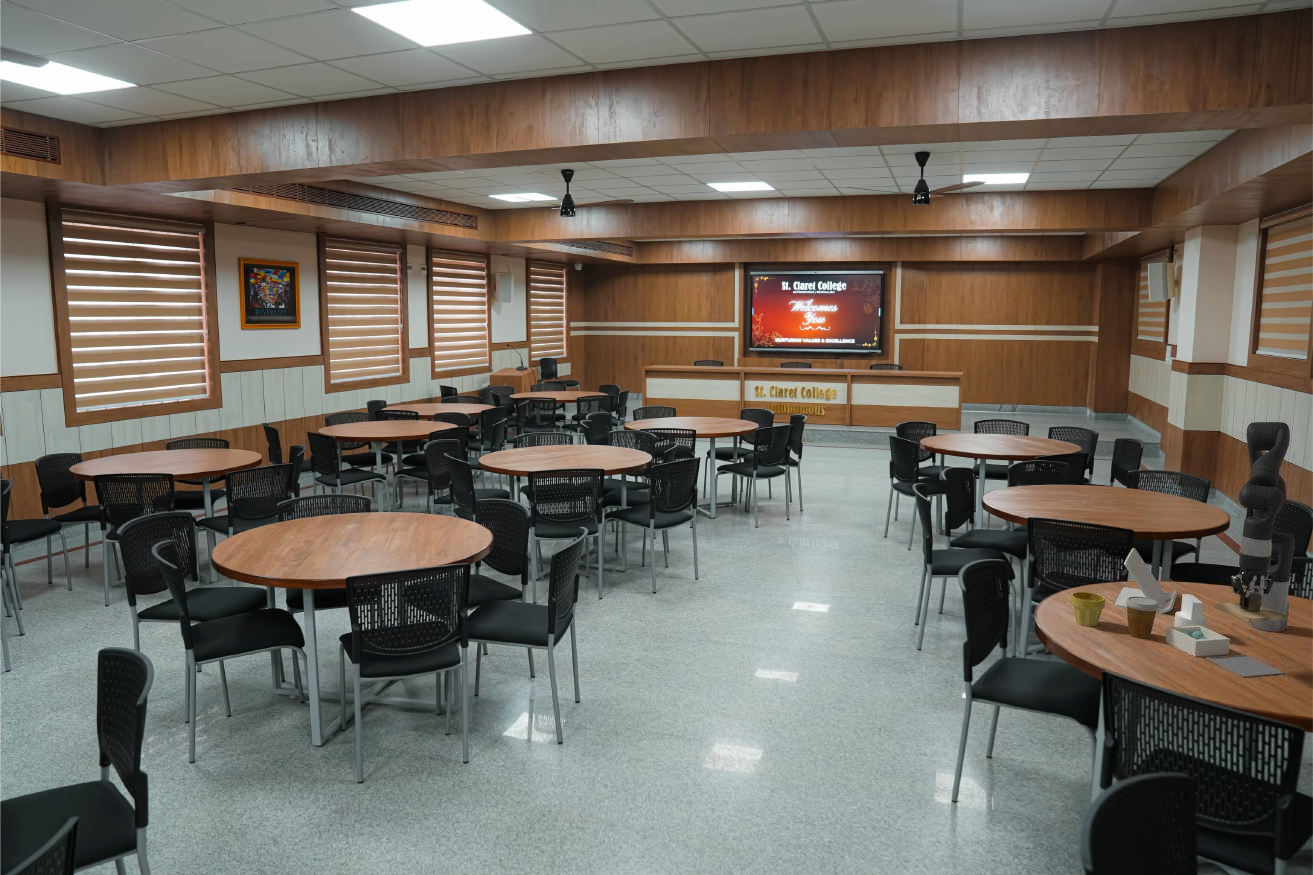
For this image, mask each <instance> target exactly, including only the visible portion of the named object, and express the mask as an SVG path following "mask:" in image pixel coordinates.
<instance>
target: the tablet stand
mask: <svg viewBox="0 0 1313 875" xmlns="http://www.w3.org/2000/svg"><path fill="white" fill-rule="evenodd" d="M1123 565H1124V566H1125V568H1126V570H1127V571H1128V572H1129V574H1130V575H1131V577H1132V578H1133V580H1134V581H1135V583H1136V585H1137V586H1138V588H1133V587H1127V586H1124V587H1123V586H1122V588H1121V591H1120V593H1119V594H1118V596H1117V599H1116V601H1115V602H1114V607H1118V606H1119V607H1118V608H1124V607H1126V608H1125V609H1127V605H1126V601H1127V598H1128V597H1132V596H1138V597H1146V598H1150V599H1153V600H1155V601H1156V602H1157V605H1158V606H1159V607H1158V608H1157V610H1156V614H1159V613H1160V614H1159V615H1162V614H1165V613H1168V612H1171V611H1172V610H1173V608H1174V604H1175V601H1176V599H1177V594H1178V590H1177V589H1174V590H1172V591H1169V592H1167V593H1166V592H1165V591H1164V589H1163V588H1162V586H1161V585H1160V583H1159V582H1158V581H1157V579H1156V578H1155V576H1154V575H1153V573H1152V571H1151V570H1150V569H1149V567H1148V565H1147V564H1146V562H1144V560H1143V558H1142V556H1141V555H1140V553H1139V552H1138V551H1137V549H1136V548H1135V547H1133V548H1131V550H1130V552H1129V553H1128V555H1127V556H1126V559H1125V561H1124V563H1123Z"/></svg>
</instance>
